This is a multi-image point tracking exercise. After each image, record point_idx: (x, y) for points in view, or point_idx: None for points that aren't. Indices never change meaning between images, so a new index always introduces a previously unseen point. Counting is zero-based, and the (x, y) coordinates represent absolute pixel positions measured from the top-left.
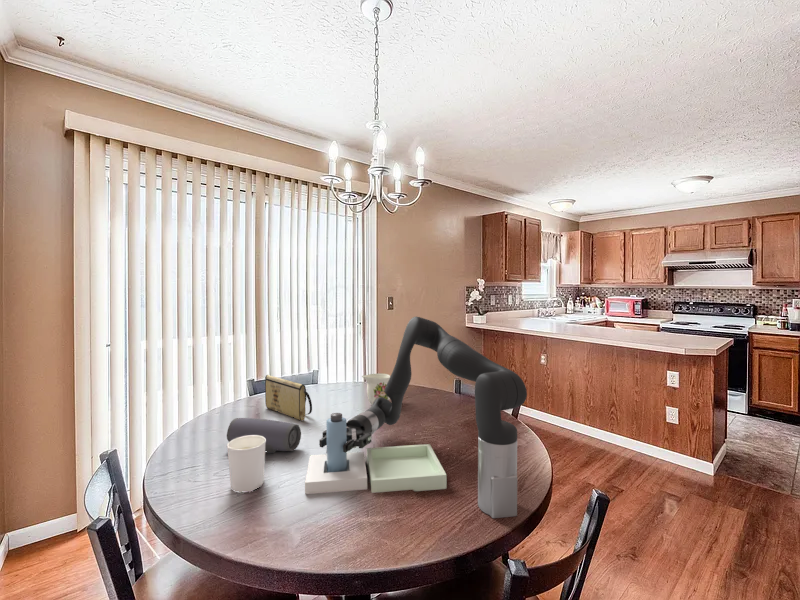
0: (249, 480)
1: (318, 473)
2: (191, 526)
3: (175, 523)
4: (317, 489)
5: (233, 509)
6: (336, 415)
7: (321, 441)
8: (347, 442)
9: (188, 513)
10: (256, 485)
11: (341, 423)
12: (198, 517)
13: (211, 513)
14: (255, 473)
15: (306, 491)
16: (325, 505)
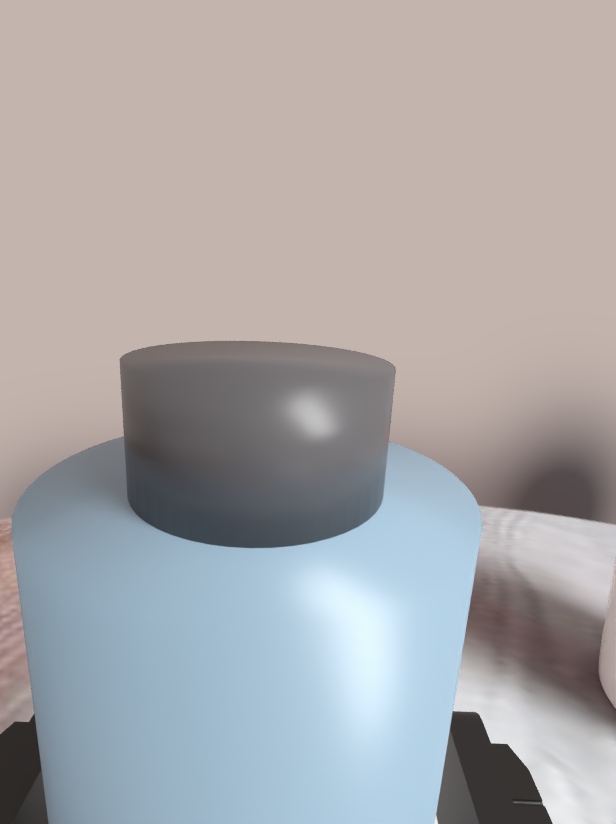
0: (606, 610)
1: None
2: (503, 521)
3: (550, 520)
4: None
5: (503, 582)
6: (233, 348)
7: None
8: (25, 768)
9: (583, 544)
10: (605, 669)
11: (107, 451)
12: (537, 541)
13: (532, 557)
14: (612, 602)
15: None
16: None
